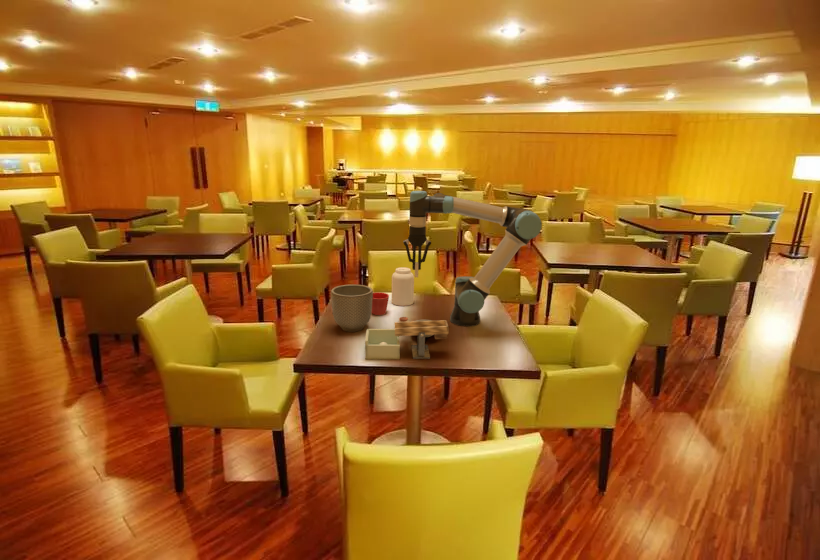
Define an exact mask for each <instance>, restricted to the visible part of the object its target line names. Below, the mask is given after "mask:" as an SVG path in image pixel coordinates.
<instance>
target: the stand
mask: <svg viewBox="0 0 820 560" xmlns="http://www.w3.org/2000/svg"><path fill="white" fill-rule="evenodd" d="M416 336H417V337H416V339H417V341H416V344H412V345H411V353H412V359H413V360H430V359H431V354H430V349H429V345H428V344H426V343H425V342H426V337H425V332H419V335H416Z"/></svg>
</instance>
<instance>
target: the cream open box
mask: <svg viewBox="0 0 820 560" xmlns="http://www.w3.org/2000/svg"><path fill="white" fill-rule="evenodd" d="M381 342H386V343H387V344H388V345H379V344H380V343H381ZM364 344H365V345H364V350H365V351H364V354H365V355H364V359H365V360H400V359H401V358H400V357H401V355H400V353H401V349H400V348H401V345H400V344H401V343H400V336H395V328H367V329H366V331H365V341H364Z"/></svg>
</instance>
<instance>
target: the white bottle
mask: <svg viewBox="0 0 820 560" xmlns="http://www.w3.org/2000/svg"><path fill="white" fill-rule="evenodd" d="M394 271H395V272H393V273H392V275H391V303H392V305H396V306H400V307H402V306H403V307H406V306H411V305H413V304H414V301H415V300H414V299H415V298H414V296H415V295H414V292H415V274H414V273H413V272H412V268H409V267H404V266H400V267H396V268H395V270H394Z"/></svg>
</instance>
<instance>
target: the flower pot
mask: <svg viewBox="0 0 820 560" xmlns="http://www.w3.org/2000/svg"><path fill="white" fill-rule="evenodd" d="M389 298H390V295H389V294H388V293H385V292H373V302H372V313H371V315H374V316H383V315H385V314H386V313H387V308H388V304H389Z"/></svg>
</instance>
